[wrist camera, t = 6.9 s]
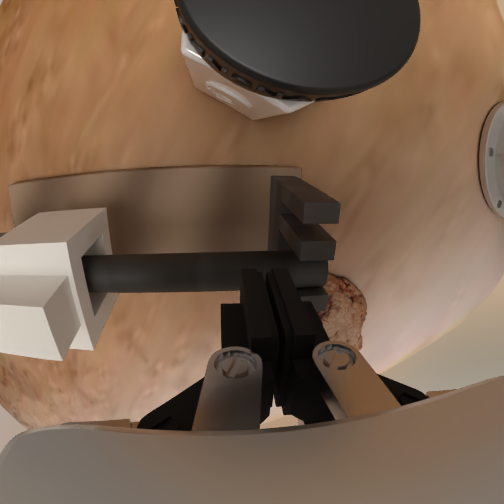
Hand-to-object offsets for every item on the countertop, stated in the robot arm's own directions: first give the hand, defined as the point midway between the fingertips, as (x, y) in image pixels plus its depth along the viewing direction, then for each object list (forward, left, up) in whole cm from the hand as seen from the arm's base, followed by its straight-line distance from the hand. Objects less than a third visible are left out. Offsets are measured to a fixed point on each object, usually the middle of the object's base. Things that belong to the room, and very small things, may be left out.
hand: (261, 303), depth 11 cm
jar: (-1, -11, -11) cm, 16 cm away
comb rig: (+6, 0, -11) cm, 13 cm away
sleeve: (+10, 0, -6) cm, 11 cm away
